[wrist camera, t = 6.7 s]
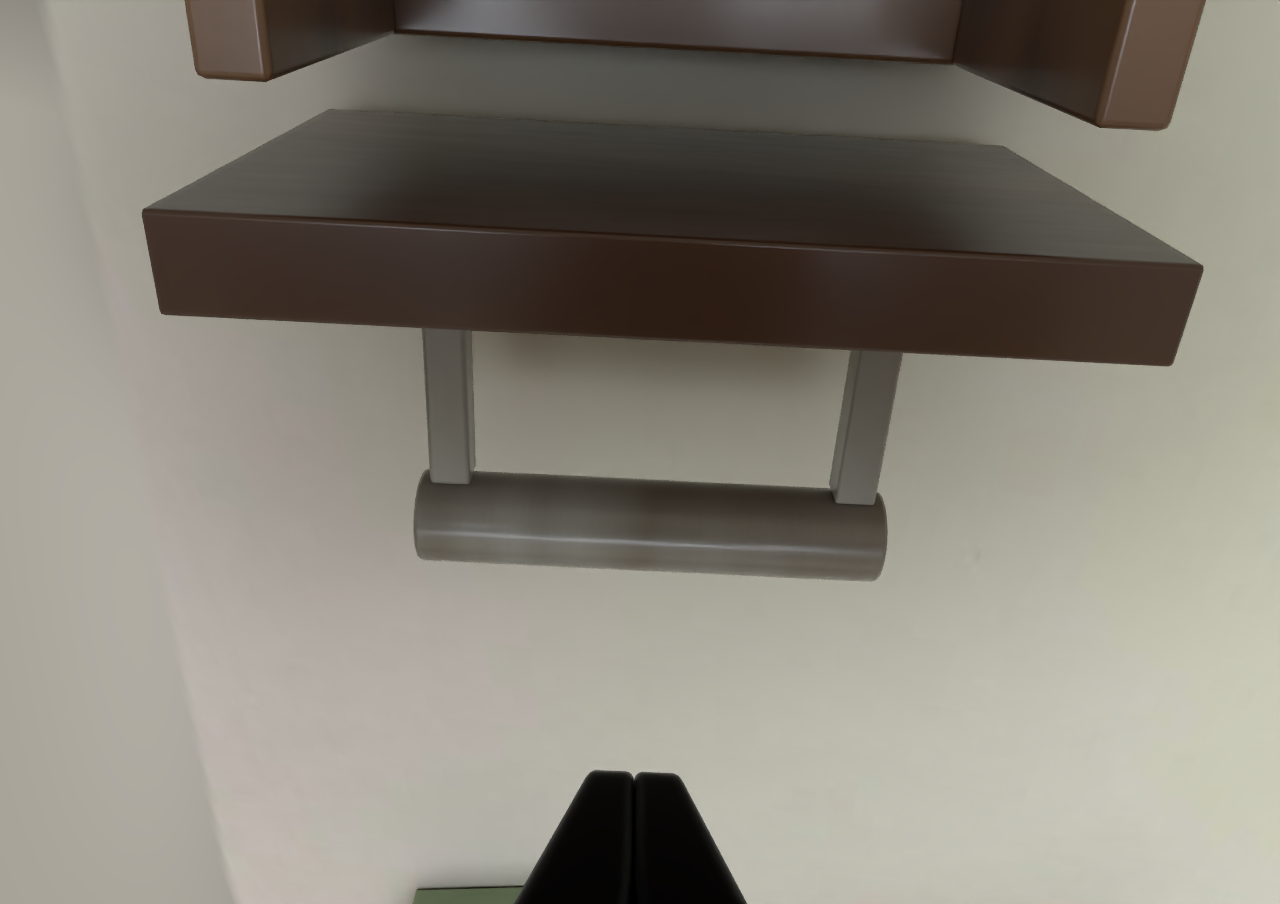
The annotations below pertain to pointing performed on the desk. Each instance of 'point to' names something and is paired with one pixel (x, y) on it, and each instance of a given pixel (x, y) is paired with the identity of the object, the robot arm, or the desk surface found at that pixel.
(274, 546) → the desk surface
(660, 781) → the robot arm
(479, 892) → the block
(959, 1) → the drawer
